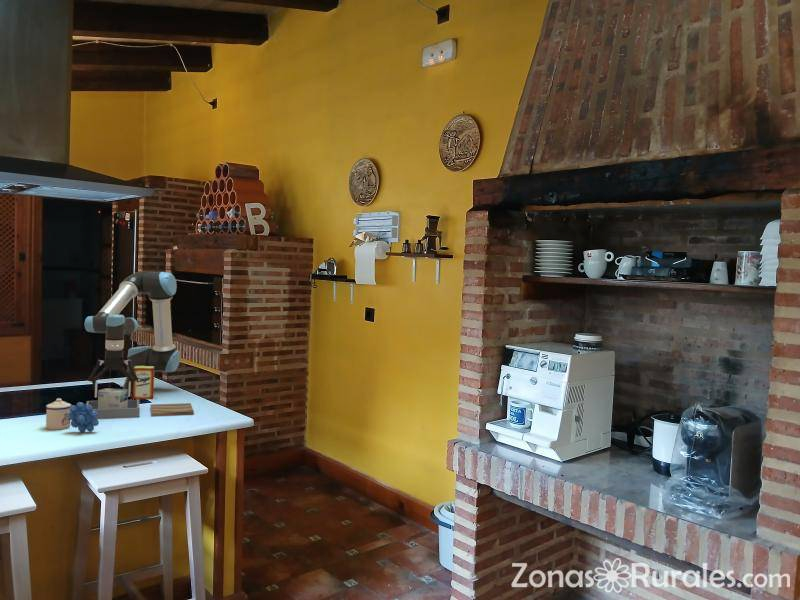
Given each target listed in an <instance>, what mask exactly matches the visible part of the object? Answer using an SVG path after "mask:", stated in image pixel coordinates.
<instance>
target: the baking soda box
mask: <svg viewBox="0 0 800 600" xmlns="http://www.w3.org/2000/svg"><path fill="white" fill-rule="evenodd" d="M154 367H155V366H134V368H133V369H134V371H135V373H136V375H137V377H138V380H137V381H134V383H133V392H132V396H131V397H132V398H131V400H132V399H133V400H134V399H139V400H153V399H154V394H155V393H154V392H155V391H154V390H155V371H154ZM133 378H134V377H133Z"/></svg>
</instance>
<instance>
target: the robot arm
mask: <svg viewBox="0 0 800 600" xmlns="http://www.w3.org/2000/svg"><path fill="white" fill-rule="evenodd" d="M177 288H178V286H177V280H176V277H175V276H174V275H173V274H172V273H170V272H166V271H150V270H149V271H147V270H146V271H145V270H140V271H137V272H134V273H132V274H131V275H129V276H128V277H125V278H124V280H122V281H121V282H120V283H119V286H118V289H117V290H116V291H115V293H114V294H113V295H112V296H111V297H110V299H108V301H106V303H105V304H104V305H103V307H102V308H101V309H100V310H99V311H98V313H97V314H96V315H92V316H91V315H90V316H89V315H88V316H87V317H86V318H85V320H84V324H83V325H84V329H85V330H86V332H88V333H95V334H96V333H97V334H105V344H104V345H105V346H104V347H105V351H104V360H101V359H97V361H96V365H95V367H94V368H93V371H92V372H91V374H90V375H89V377H88V379H87V381H88V382H91V383H92V385H91V386H92V390H93V391H94V398H98V380H99V379H100V378H101V377H102V376H103V374H105V373H106V372H107V371H108V370H109V371H119V370H120V371H121V372H122V374H124V375H125V377H126V379H125V381H124V383H123V386H122V387H123V388H122V389H127V390H128V398H129V397H131V393H133V383H134V381H137V380H138V377H137V375H136V373H135V371H134V369H133V368H134V366H155V367H154V372H164V373H172V372H173V373H174V372H175V371H176V370H177V369H178V367H179V366H180V362H181V352H180V350H178V349H177V348H176V345H175V344H174V343H173V333H172V331H173V330H172V314H171V300H172V299H173V297H174V295H175V294H176V292H177ZM141 294H144V295H148V299H149V300H150V301H151V302H152V303H151V304H152V317H153V331H154V345H153V346H151V345H143V346H136V347H130V348H129V349H128V351H127V352H128V353H127V360H124V353H125V352H124V350H123V349H124V348H125V335H131V334H134V333H135V332H136V331H137V330H138V328H139V322H138V321H137V319H135V318H133V317H125V316H124V314H121V312H122V311H123V310H124V308H126V306H127V305H128V304H129V302H130V301H131V300H132V299H133V298H135V297H137V296H138V295H141ZM102 364H103V365H104V366H105V367H103V369H102V370H101V371H99V373H98V374H97V375H96V373H97V371H98V369H99V367H100V366H102ZM124 365H126V366H127V370H126V368H125V367H123V366H124ZM95 375H96V376H95ZM94 376H95V377H94ZM133 377H134V378H133Z"/></svg>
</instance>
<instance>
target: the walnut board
mask: <svg viewBox="0 0 800 600" xmlns="http://www.w3.org/2000/svg"><path fill="white" fill-rule="evenodd" d="M150 415H151V417H169V416H170V417H171V416H193V415H195V411H194V408H193V405H192V403H191V402H186V403H161V404H160V403H158V404H157V403H156V404H153V403H152V404H151V403H150Z"/></svg>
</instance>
